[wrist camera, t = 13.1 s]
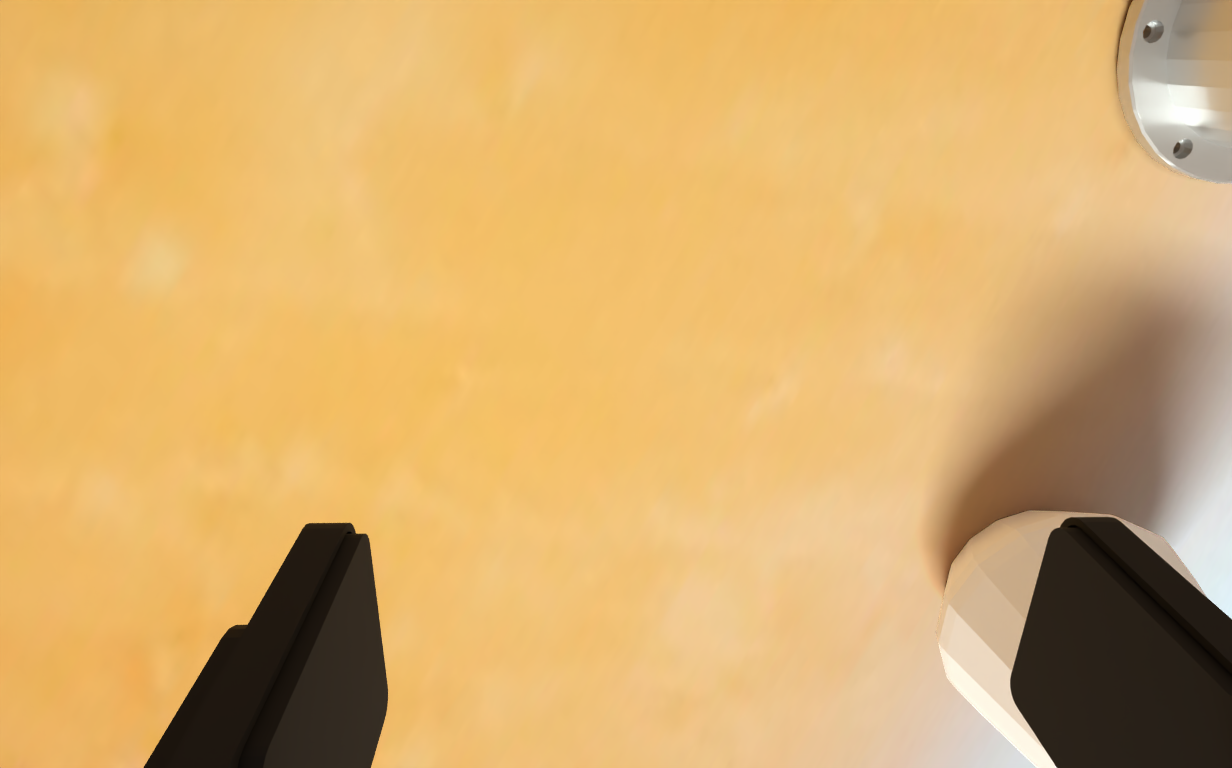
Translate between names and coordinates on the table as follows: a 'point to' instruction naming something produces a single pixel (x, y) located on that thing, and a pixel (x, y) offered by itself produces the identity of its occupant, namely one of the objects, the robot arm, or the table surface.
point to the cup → (1006, 614)
